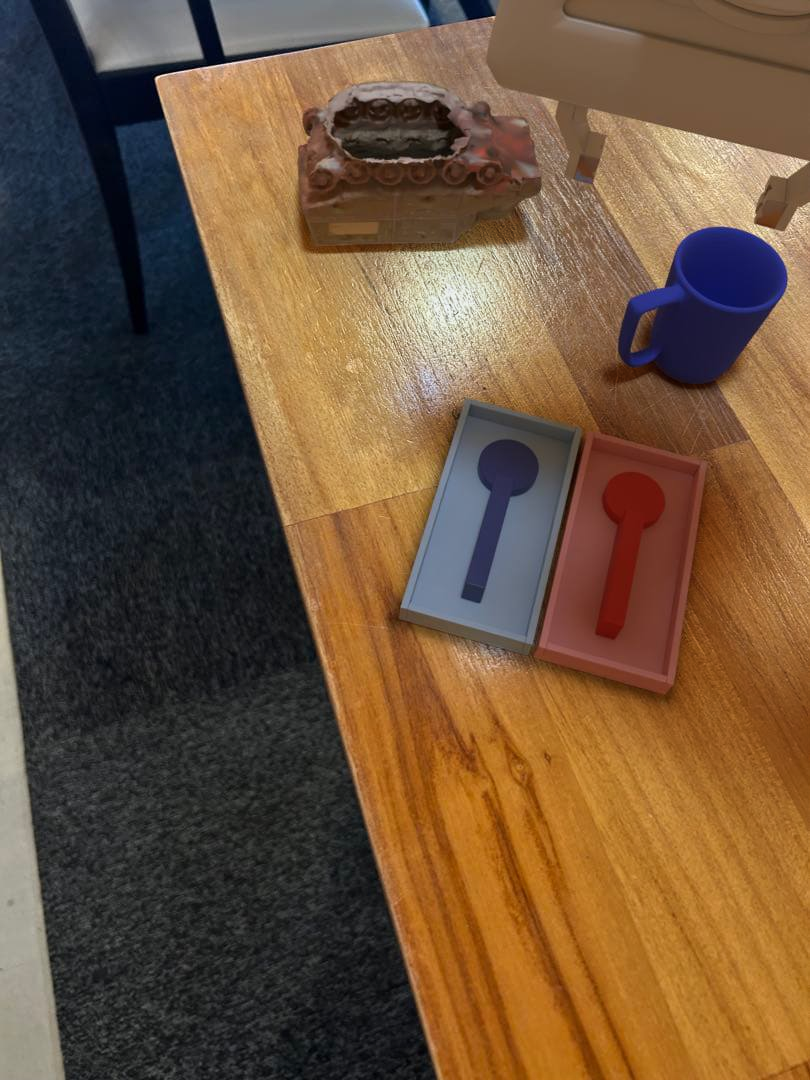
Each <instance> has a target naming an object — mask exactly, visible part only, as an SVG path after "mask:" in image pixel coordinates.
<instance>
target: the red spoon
mask: <svg viewBox="0 0 810 1080" xmlns="http://www.w3.org/2000/svg"><path fill="white" fill-rule="evenodd" d="M602 504H603V508H604V510H605V512H606V514H607V516H608V517H609V518H610V519H611V520H612V521H613V522H614V523H616V524H617V525H618V526H617V531H616V535H615V540H614V545H613V550H612V555H611V559H610V564H609V569H608V574H607V579H606V583H605V588H604V593H603V598H602V602H601V607H600V612H599V617H598V622H597V626H596V631H595V634H596V635H599V636H603V637H606V638H610V639H613V640H615V639H616V637H617V636H618V634H619V633H620V631H621V630H622V628H623V627H624V624H625V619H626V613H627V608H628V603H629V598H630V593H631V588H632V582H633V577H634V572H635V567H636V562H637V556H638V551H639V546H640V541H641V536H642V531H643V529H646V528H649V527H651V526H652V525H654V524H655V523H656V522H657V521H658V519H659V518H660V516H661V514H662V513H663V511H664V508H665V495H664V493H663V490H662V489H661V487H660V486H659V484H658V483H657V482H656V481H655V480H653V479H652V478H651V477H649V476H647V475H645V474H642V473H638V472H624V473H620V474H618V475H616V476H614V477H613V478H612V479H611V480H610V481H609V482H608V484H607V486H606V488H605V490H604V492H603V496H602Z"/></svg>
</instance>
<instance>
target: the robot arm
mask: <svg viewBox="0 0 810 1080" xmlns="http://www.w3.org/2000/svg"><path fill="white" fill-rule="evenodd" d="M488 41H489V42H488V46H487V51H486V58H485V61H486V65H487V67H488V68H489V71H490V72H491V74H492V76H493V78H494V80H495V81H496V83H497V84H498V86H500V87H502V88H504V89H507V90H511V91H516V92H519V93H523V94H528V95H532V96H536V97H541V98H545V99H549V100H553V101H557V102H558V103H557V106H556V111H555V114H554V118H555V121H556V123H557V126H558V129H559V131H560V134H561V137H562V139H563V141H564V144H565V147H566V149H567V151H568V152H569V156H568V160H567V163H566V167H565V171H564V174H563V176H564V177H563V178H565V179H569V180H572V181H576V182H579V183H584V184H588V185H594V182H595V178H596V174H597V171H598V169H599V165H600V161H601V157H602V155H603V154H602V153H603V149H604V146H605V142H606V139H607V134H604V133H600V132H596V131H593V130H591V126H590V123H589V120H588V116H587V115H588V111H589V109H590V110H594V111H599V112H602V113H607V114H611V115H614V116H615V115H616V116H619V117H623V118H628V119H632V120H636V121H640V122H645V123H649V124H654V125H657V126H661V127H666V128H669V129H673V130H676V131H677V130H678V131H681V132H685V133H690V134H694V135H699V136H703V137H707V138H711V139H715V140H720V141H723V142H727V143H732V144H737V145H740V146H744V147H749V148H753V149H756V150H761V151H766V152H769V153H773V154H778V155H783V156H786V157H790V158H794V159H799V160H802V161H807V163H806V164H805V165H803V166H802V167H801V168H799V169H798V170H796V171H795V172H793V173H792V174H790V176H788V177H783V176H778V175H773V174H770V175H769V177H768V180H767V182H766V183H765V185H764V191H763V192H761V193H760V196H759V198H758V200H757V203H756V206H755V211H754V214H755V216H754V218H753V224H754V225H757V226H759V227H763V228H768V229H771V230H776V231H779V232H785V231H786V229H787V228H788V226H789V224H790V223H791V220H792V219H793V217H794V215H795V213H796V212H797V210H798V208H803V207H804V206H806V205H808V204H809V203H810V0H499V2H498V6H497V9H496V12H495V16H494V20H493V24H492V28H491V32H490V37H489V40H488Z"/></svg>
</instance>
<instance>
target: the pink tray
mask: <svg viewBox="0 0 810 1080" xmlns="http://www.w3.org/2000/svg"><path fill="white" fill-rule="evenodd" d="M576 465H577V466H576V470H575V474H574V479H573V483H572V487H571V491H570V496H569V501H568V504H567V510H566V513H565V518H564V521H563V525H562V530H561V535H560V539H559V544H558V548H557V552H556V556H555V561H554V565H553V570H552V574H551V577H550V583H549V587H548V591H547V596H546V600H545V605H544V607H543V608H544V609H543V613H542V617H541V622H540V626H539V630H538V634H537V639H536V642H535V643H536V644H535V647H534V652H533V658H534V659H537V660H541V661H545V662H548V663H552V664H554V665H558V666H562V667H565V668H568V669H573V670H576V671H579V672H583V673H586V674H590V675H594V676H597V677H600V678H603V679H608V680H611V681H613V682H614V681H615V682H618V683H622V684H625V685H628V686H632V687H635V688H639V689H643V690H646V691H650V692H653V693H656V694H659V695H664V696H665V695H666V694H667V693H668V692H669V691H670V690H671V688H672V687H673V686H674V685H675V679H676V672H677V666H678V660H679V653H680V652H679V651H680V647H681V639H682V632H683V628H684V620H685V614H686V606H687V601H688V600H687V599H688V594H689V586H690V579H691V574H692V566H693V559H694V554H695V547H696V540H697V534H698V528H699V522H700V521H699V520H700V514H701V506H702V500H703V493H704V488H705V480H706V475H707V467H708V461H706V460H703V459H699V458H695V457H691V456H687V455H684V454H680V453H675V452H673V451H669V450H665V449H661V448H657V447H655V446H654V447H653V446H649V445H647V444H642V443H638V442H635V441H631V440H627V439H623V438H620V437H617V436H612V435H609V434H605V433H600V432H597V431H593V430H587V432H586V435H585V437H584V440H583V442H582V444H581V449H580V453H579V457H578V461H577V464H576ZM624 472H638V473H642V474H645V475H647V476H649V477H651V478H652V479H653V480H655V481H656V482H657V483H658V484H659V486H660V487H661V489H662V490H663V493H664V495H665V508H664V511H663V513H662V514H661V516H660V518H659V519H658V521H657V522H656V523H655V524H654V525H652V526H651V527H649V528H646V529H643V531H642V536H641V541H640V546H639V551H638V556H637V562H636V567H635V572H634V577H633V582H632V588H631V593H630V598H629V603H628V608H627V613H626V619H625V624H624V627H623V628H622V630H621V631H620V633H619V634H618V636H617V637H616V639H615V640H613V639H610V638H606V637H603V636H599V635H596V634H595V631H596V626H597V622H598V617H599V612H600V607H601V602H602V598H603V593H604V588H605V583H606V579H607V574H608V569H609V564H610V559H611V555H612V550H613V545H614V540H615V535H616V531H617V526H618V525H617V524H616V523H614V522H613V521H612V520H611V519H610V518H609V517H608V516H607V514H606V512H605V510H604V508H603V504H602V496H603V492H604V490H605V488H606V486H607V484H608V482H609V481H610V480H611V479H612V478H613V477H614V476H616V475H618V474H620V473H624Z"/></svg>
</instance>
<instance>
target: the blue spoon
mask: <svg viewBox="0 0 810 1080" xmlns="http://www.w3.org/2000/svg"><path fill="white" fill-rule="evenodd" d="M477 471H478V476H479V479H480V480H481V482H482V484H483V485H484V486H485V487H486V488H487V489H488V490H490V491H491V493H490V497H489V500H488V504H487V507H486V511H485V514H484V518H483V521H482V525H481V528H480V532H479V535H478V539H477V542H476V546H475V549H474V553H473V556H472V560H471V563H470V567H469V570H468V574H467V577H466V581H465V584H464V588H463V591H462V595H461V598H463V599H467V600H470V601H474V602H477V603H481V600H482V597H483V594H484V591H485V588H486V584H487V581H488V577H489V573H490V570H491V566H492V562H493V559H494V555H495V551H496V548H497V544H498V540H499V537H500V533H501V529H502V526H503V522H504V518H505V515H506V511H507V508H508V504H509V500H510V497H513V496H518V495H521V494H523V493H525V492H527V491H528V490H529V489H530V488H531V487H532V486H533V485H534V483H535V480H536V477H537V475H538V471H539V463H538V460H537V457H536V455H535V454H534V452H533V451H532V450H531V449H530V448H529V447H528V446H526V445H525V444H523V443H521V442H519V441H516V440H510V439H502V440H497V441H494V442H492V443H490V444H489V445H487V446H486V447H485V448H484V449H483V451H482V452H481V455H480V458H479V462H478V466H477Z"/></svg>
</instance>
